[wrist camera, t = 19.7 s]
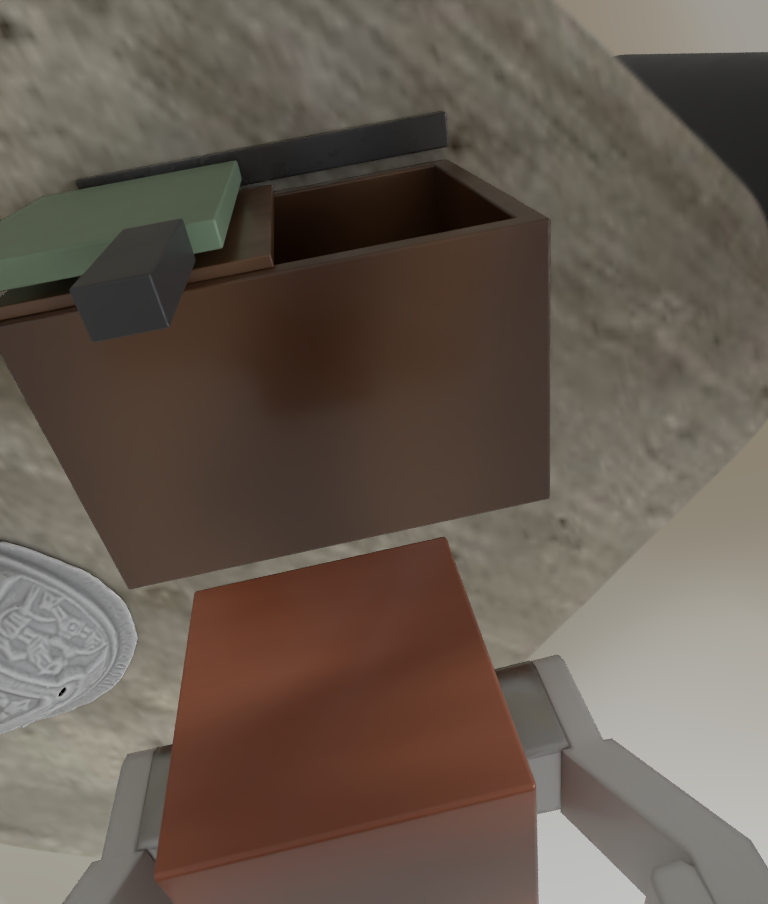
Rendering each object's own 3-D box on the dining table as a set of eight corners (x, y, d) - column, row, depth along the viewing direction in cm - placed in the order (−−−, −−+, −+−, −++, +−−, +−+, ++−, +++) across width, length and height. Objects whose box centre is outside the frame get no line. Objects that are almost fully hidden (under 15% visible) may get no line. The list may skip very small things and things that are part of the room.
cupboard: (443, 110, 23) (552, 142, 14) (464, 362, 29) (550, 499, 20) (78, 178, 23) (-54, 257, 14) (174, 421, 29) (128, 590, 20)
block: (445, 535, 11) (538, 786, 7) (464, 689, 14) (540, 935, 10) (193, 590, 11) (150, 880, 7) (260, 736, 13) (256, 1006, 10)
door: (235, 155, 22) (191, 265, 10) (243, 184, 23) (209, 320, 11) (38, 192, 22) (-244, 349, 10) (51, 220, 23) (-203, 402, 11)
